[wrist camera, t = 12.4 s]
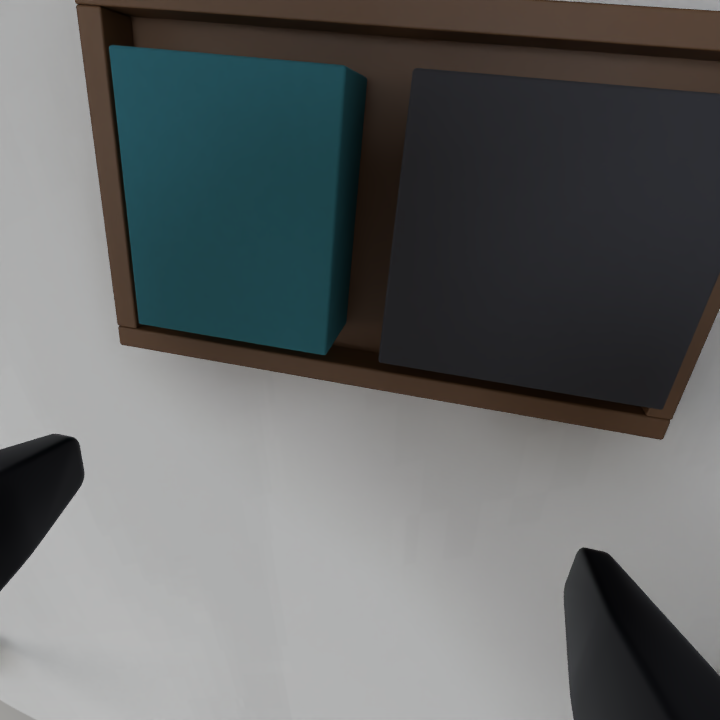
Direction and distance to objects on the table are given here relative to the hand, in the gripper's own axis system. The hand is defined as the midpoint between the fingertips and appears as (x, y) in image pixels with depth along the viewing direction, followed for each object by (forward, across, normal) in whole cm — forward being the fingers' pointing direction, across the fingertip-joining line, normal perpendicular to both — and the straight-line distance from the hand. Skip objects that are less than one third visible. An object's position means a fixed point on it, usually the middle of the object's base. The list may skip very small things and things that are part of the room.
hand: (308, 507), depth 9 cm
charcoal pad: (+10, -4, -4) cm, 12 cm away
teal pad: (+10, +5, -4) cm, 12 cm away
